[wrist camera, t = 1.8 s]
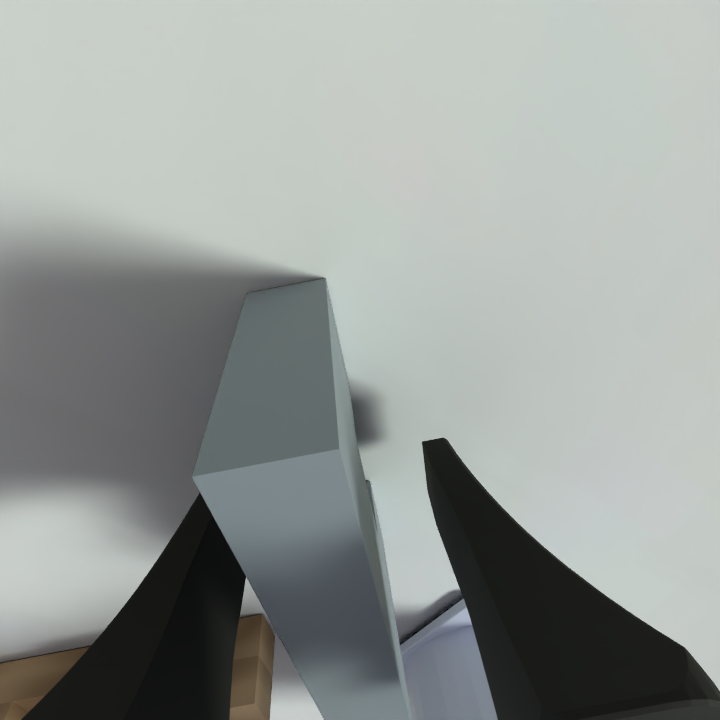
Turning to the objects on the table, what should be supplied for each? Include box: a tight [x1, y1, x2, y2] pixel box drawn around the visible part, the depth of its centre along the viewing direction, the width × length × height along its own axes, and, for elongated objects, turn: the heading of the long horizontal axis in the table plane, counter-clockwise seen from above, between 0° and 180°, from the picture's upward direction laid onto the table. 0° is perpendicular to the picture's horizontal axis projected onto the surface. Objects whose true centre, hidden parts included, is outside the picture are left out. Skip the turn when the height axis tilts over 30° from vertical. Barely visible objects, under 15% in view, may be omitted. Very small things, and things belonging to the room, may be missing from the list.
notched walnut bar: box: [0, 614, 275, 720], centre depth 18 cm, size 16×2×3 cm, turn 99°
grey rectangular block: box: [192, 278, 412, 720], centre depth 11 cm, size 11×2×6 cm, turn 9°
